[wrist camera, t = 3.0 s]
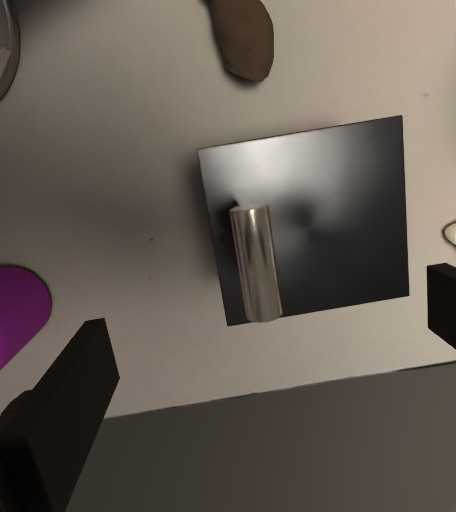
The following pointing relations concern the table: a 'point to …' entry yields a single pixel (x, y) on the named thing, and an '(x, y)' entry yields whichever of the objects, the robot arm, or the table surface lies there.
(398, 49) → the table surface
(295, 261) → the lid
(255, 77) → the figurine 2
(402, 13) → the table surface
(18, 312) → the beverage can
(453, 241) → the piggy bank
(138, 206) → the table surface
